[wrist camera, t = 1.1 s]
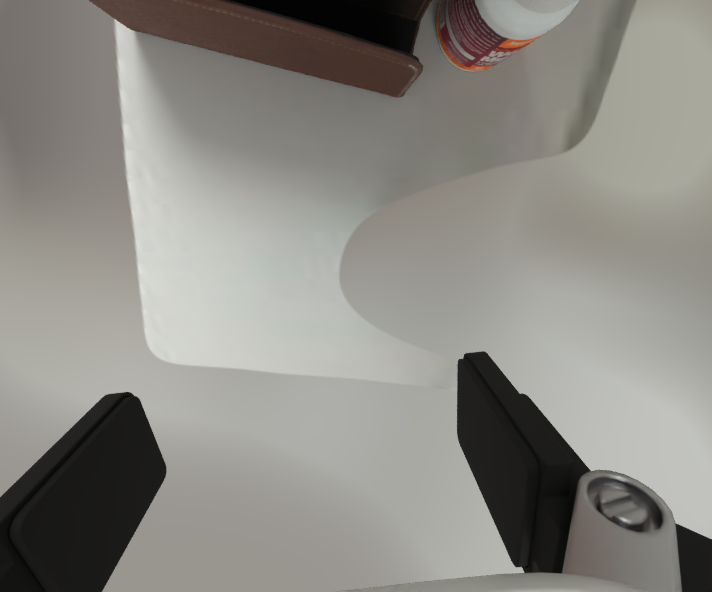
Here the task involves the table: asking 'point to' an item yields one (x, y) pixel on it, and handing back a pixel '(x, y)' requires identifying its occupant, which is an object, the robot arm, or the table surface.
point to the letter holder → (294, 34)
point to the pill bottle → (494, 28)
